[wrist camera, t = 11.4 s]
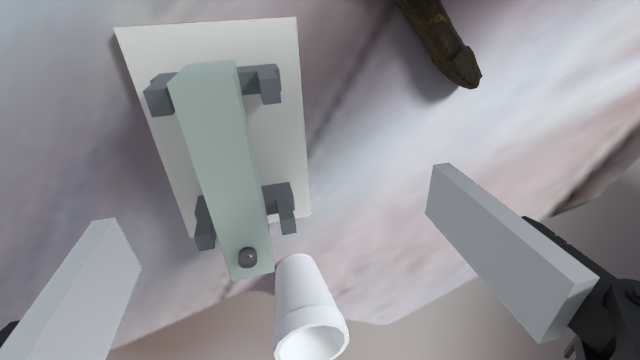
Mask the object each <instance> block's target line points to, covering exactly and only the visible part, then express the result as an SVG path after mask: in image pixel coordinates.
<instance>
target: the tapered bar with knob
mask: <svg viewBox="0 0 640 360" xmlns="http://www.w3.org/2000/svg"><path fill="white" fill-rule="evenodd" d="M167 87H168V90H169V93H170V96H171V99H172V102H173V105H174V108H175V111H176V114H177V117H178V120H179V123H180V126H181V129H182V132H183V135H184V138H185V141H186V144H187V147H188V150H189V153H190V156H191V159H192V162H193V165H194V168H195V171H196V174H197V177H198V180H199V183H200V186H201V189H202V192H203V195H204V198H205V201H206V204H207V207H208V210H209V213H210V216H211V219H212V222H213V225H214V228H215V231H216V234H217V237H218V240H219V243H220V246H221V249H222V252H223V255H224V258H225V261H226V264H227V267H228V270H229V273H230V276H231V279H232V281H237V280H241V279H245V278H250V277H254V276H258V275H263V274H267V273H272V272H275V268H274V261H273V253H272V246H271V238H270V231H269V223H268V217H267V213H266V208H265V203H264V198H263V193H262V188H261V183H260V179H259V174H258V169H257V164H256V159H255V154H254V149H253V145H252V140H251V135H250V130H249V125H248V120H247V115H246V111H245V106H244V101H243V96H242V91H241V86H240V81H239V77H238V72H237V67H236V62H235V59H231V60H222V61H212V62H203V63H194V64H187V65H185V66H184V67H183V68H182V69H181V70H180V71H179V72H178V73H177V74H176V75H175V76H174V77H173V78H172V79H171V80H170V81H169V82H168V83H167Z"/></svg>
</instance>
